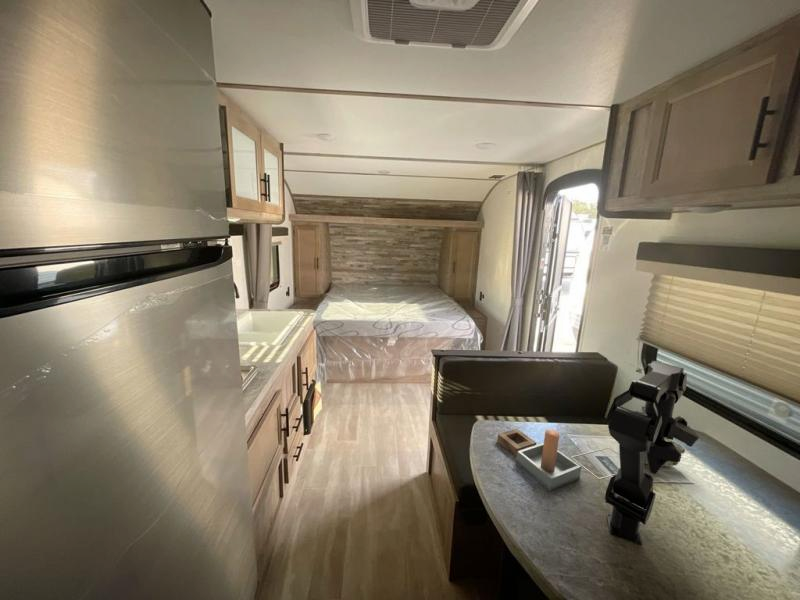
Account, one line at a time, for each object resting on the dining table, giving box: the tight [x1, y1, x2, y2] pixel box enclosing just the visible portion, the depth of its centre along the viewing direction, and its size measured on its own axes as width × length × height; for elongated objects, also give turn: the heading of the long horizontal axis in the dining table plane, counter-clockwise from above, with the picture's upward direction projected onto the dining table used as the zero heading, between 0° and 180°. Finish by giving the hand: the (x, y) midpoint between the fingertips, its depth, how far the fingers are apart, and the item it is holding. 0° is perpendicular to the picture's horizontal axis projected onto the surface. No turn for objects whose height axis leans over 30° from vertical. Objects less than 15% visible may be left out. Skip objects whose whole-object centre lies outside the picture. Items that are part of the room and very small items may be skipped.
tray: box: [515, 442, 582, 491], centre depth 100 cm, size 13×13×4 cm
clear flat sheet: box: [570, 446, 620, 480], centre depth 105 cm, size 11×1×18 cm
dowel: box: [541, 429, 561, 472], centre depth 99 cm, size 4×4×12 cm
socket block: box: [497, 428, 537, 458], centre depth 112 cm, size 9×9×3 cm
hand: (647, 462), depth 86 cm, fingers open, 9 cm apart
